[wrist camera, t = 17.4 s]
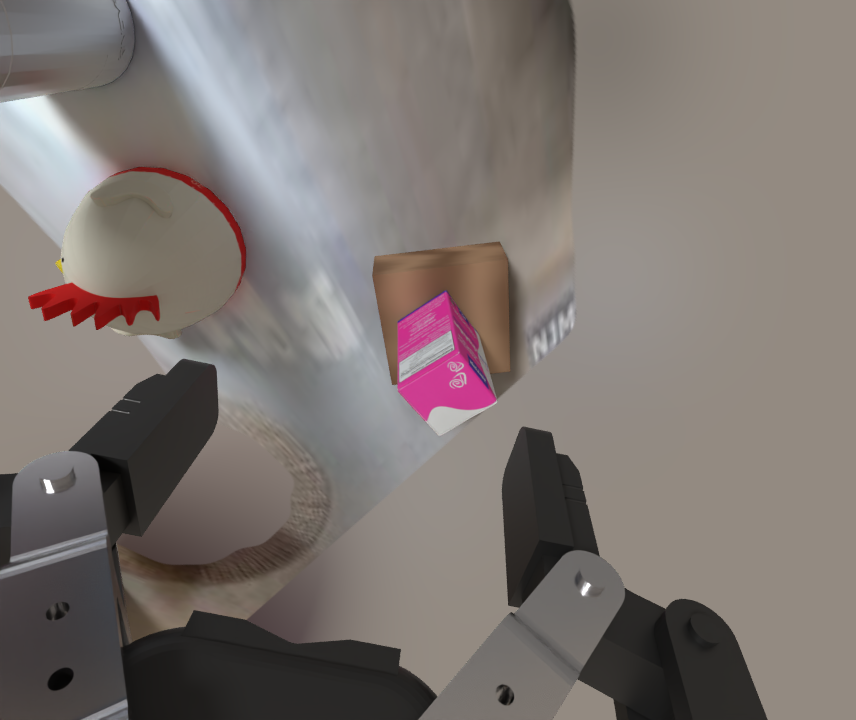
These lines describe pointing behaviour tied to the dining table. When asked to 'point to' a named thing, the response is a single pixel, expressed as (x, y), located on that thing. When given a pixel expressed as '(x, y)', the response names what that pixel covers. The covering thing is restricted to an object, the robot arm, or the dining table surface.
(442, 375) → the supplement box
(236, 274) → the kitchen timer
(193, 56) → the dining table surface
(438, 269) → the walnut block
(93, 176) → the dining table surface
